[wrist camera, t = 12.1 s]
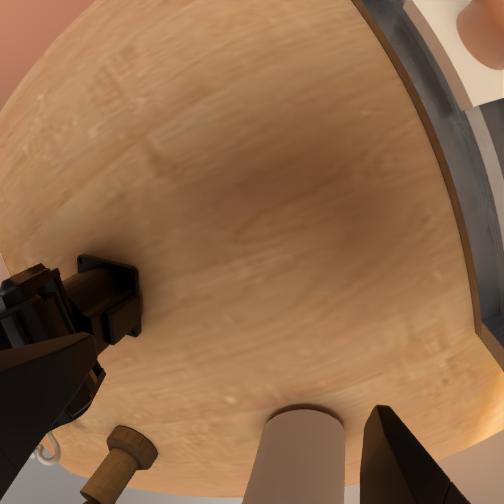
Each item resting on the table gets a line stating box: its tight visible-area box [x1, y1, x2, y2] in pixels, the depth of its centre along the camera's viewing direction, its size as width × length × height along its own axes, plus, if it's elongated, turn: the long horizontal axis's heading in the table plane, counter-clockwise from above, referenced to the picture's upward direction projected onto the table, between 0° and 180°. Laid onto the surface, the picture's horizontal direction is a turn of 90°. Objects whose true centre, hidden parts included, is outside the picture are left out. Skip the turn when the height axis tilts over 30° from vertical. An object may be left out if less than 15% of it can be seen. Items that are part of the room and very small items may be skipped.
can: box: [242, 409, 345, 504], centre depth 19 cm, size 8×8×12 cm
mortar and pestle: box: [80, 426, 157, 504], centre depth 23 cm, size 7×6×18 cm
